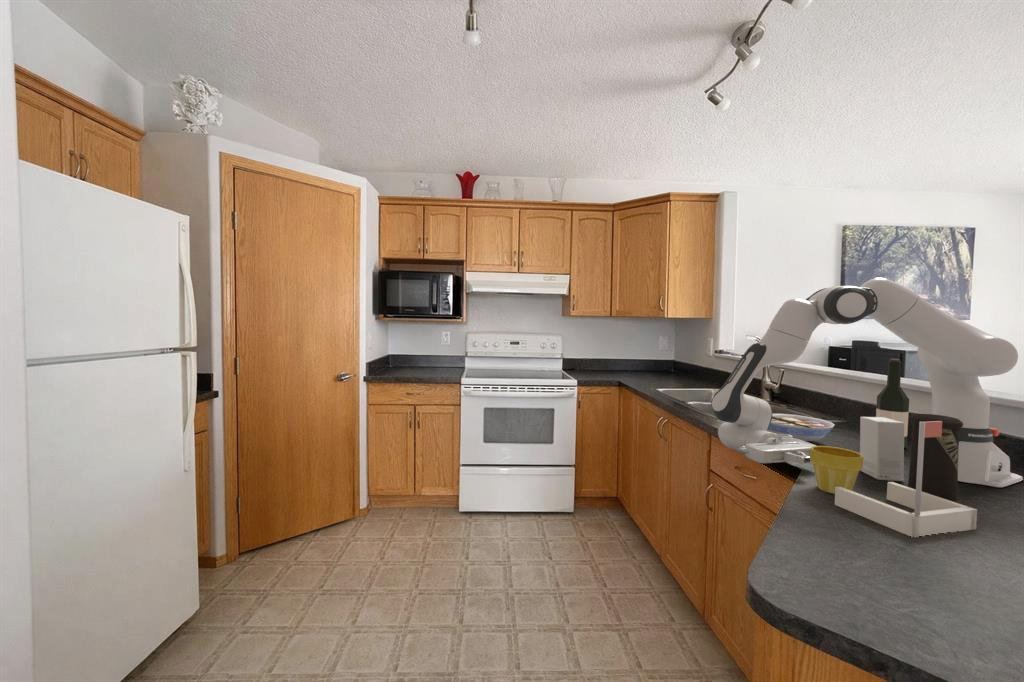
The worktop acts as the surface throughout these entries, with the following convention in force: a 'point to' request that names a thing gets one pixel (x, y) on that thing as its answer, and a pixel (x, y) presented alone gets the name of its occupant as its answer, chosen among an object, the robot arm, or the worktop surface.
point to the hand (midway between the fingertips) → (807, 460)
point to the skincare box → (882, 448)
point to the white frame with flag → (912, 502)
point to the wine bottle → (894, 398)
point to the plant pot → (835, 467)
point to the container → (936, 457)
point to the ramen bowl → (800, 426)
